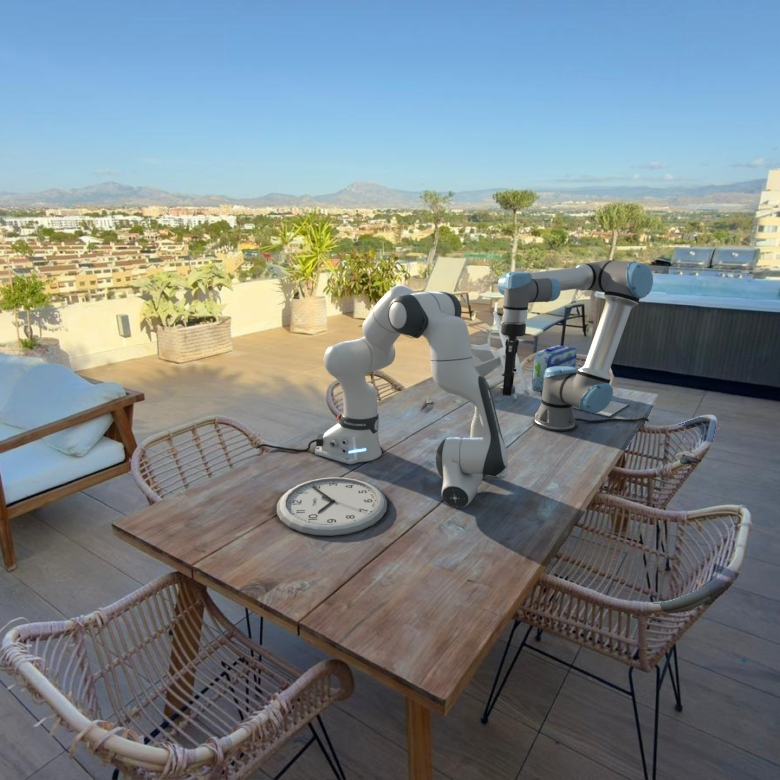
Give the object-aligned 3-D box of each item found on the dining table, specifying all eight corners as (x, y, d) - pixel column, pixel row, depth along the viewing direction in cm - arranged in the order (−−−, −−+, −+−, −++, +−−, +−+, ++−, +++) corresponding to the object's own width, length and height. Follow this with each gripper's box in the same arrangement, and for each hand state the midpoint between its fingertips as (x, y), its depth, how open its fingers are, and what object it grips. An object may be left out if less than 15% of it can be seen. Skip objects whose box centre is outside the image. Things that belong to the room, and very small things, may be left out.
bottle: (479, 478, 160) (484, 410, 153) (464, 474, 162) (469, 407, 156) (486, 472, 163) (492, 406, 157) (472, 468, 166) (477, 403, 160)
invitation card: (608, 416, 214) (573, 407, 224) (608, 416, 214) (573, 408, 224) (628, 404, 229) (594, 396, 238) (628, 405, 229) (594, 397, 238)
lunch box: (548, 398, 236) (553, 353, 229) (527, 393, 243) (531, 349, 237) (575, 387, 253) (581, 344, 247) (555, 382, 260) (560, 341, 254)
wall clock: (392, 527, 129) (268, 531, 127) (391, 533, 130) (269, 537, 127) (383, 473, 158) (282, 475, 155) (383, 478, 158) (282, 480, 156)
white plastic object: (461, 429, 252) (437, 405, 227) (444, 352, 274) (420, 323, 250) (535, 404, 240) (518, 377, 215) (510, 326, 262) (492, 293, 237)
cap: (515, 395, 169) (516, 388, 168) (501, 394, 169) (501, 388, 168) (513, 391, 173) (514, 384, 172) (499, 390, 173) (500, 384, 173)
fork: (418, 410, 217) (418, 406, 217) (428, 399, 232) (428, 395, 231) (424, 411, 216) (424, 406, 216) (434, 400, 231) (434, 395, 230)
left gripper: (505, 468, 145) (512, 450, 157) (434, 456, 152) (446, 439, 164) (503, 489, 147) (510, 469, 159) (433, 476, 154) (445, 458, 166)
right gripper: (504, 317, 173) (498, 384, 180) (498, 326, 157) (492, 399, 164) (528, 318, 171) (521, 387, 178) (524, 327, 155) (517, 402, 162)
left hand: (477, 454), depth 162 cm, fingers closed on bottle, 5 cm apart
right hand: (507, 392), depth 171 cm, fingers closed on cap, 4 cm apart
